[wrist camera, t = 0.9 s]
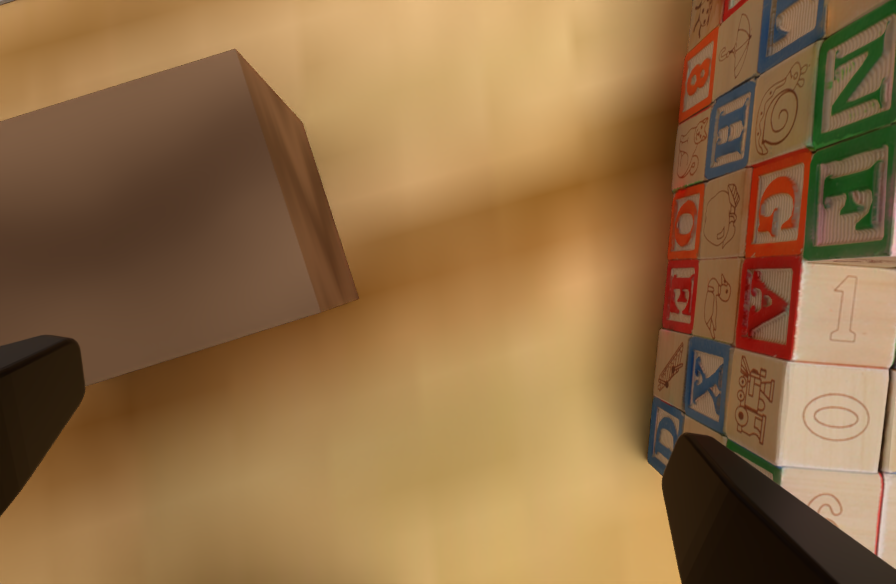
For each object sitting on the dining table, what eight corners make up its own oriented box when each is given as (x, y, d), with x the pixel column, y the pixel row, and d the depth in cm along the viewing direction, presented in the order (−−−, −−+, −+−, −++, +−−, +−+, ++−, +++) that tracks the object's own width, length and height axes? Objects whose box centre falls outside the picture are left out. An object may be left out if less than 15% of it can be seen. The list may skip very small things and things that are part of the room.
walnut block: (359, 298, 24) (321, 312, 16) (98, 380, 24) (-70, 435, 16) (303, 123, 24) (235, 48, 16) (38, 205, 24) (-165, 172, 16)
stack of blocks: (779, 472, 25) (1103, 664, 13) (643, 462, 25) (840, 645, 13) (829, -4, 24) (1226, -281, 12) (690, -18, 24) (949, -312, 12)
